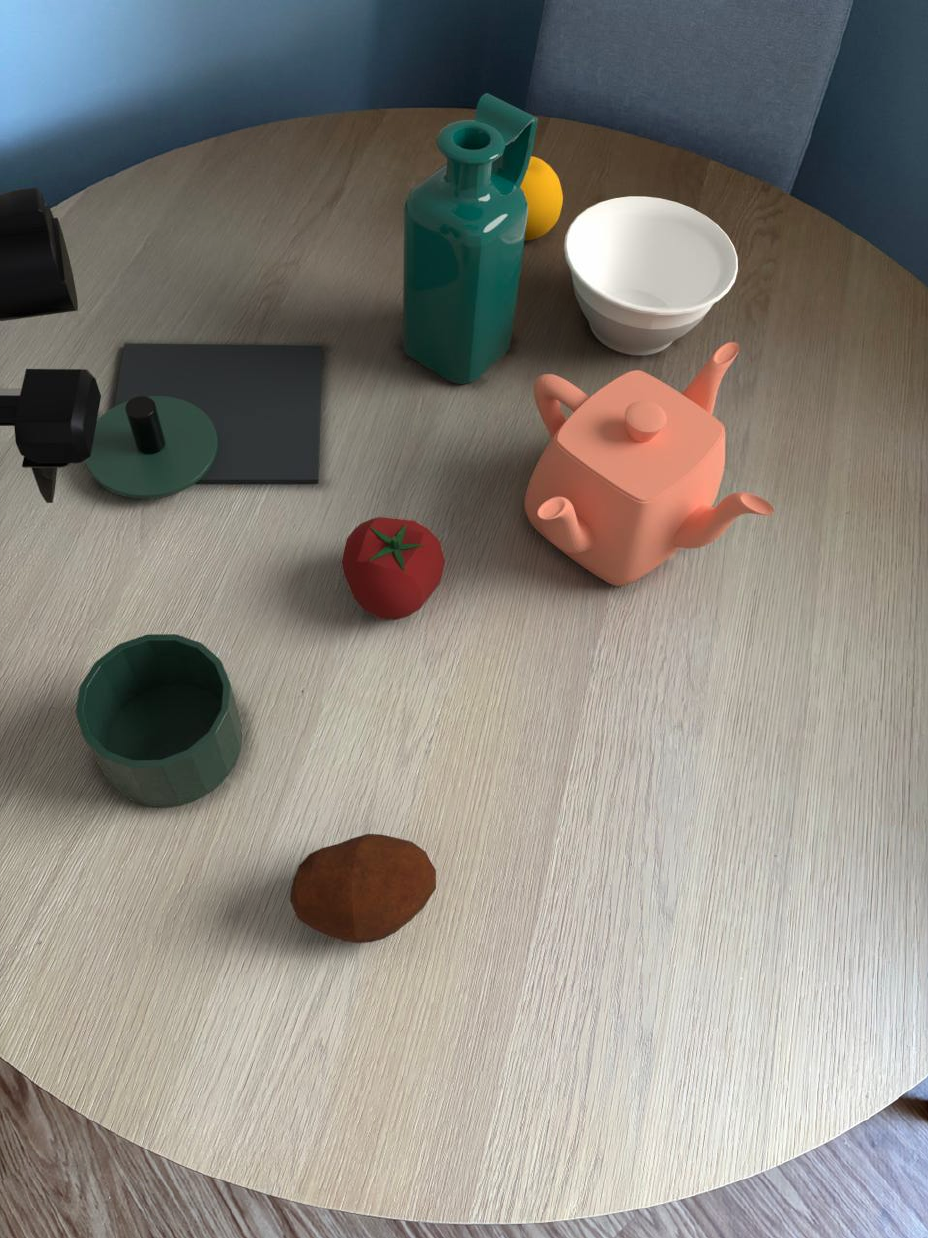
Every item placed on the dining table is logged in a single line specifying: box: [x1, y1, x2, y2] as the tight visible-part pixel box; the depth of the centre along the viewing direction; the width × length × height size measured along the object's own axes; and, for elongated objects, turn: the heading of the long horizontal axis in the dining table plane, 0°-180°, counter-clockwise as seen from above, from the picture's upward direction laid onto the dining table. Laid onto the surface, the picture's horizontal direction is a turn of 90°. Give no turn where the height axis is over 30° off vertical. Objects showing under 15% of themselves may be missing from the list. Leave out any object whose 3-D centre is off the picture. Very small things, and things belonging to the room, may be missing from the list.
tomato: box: [340, 516, 446, 621], centre depth 81 cm, size 8×8×7 cm
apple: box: [520, 155, 564, 241], centre depth 106 cm, size 8×8×8 cm
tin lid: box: [84, 396, 218, 500], centre depth 87 cm, size 11×11×6 cm
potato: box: [289, 833, 437, 944], centre depth 68 cm, size 7×9×6 cm
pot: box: [524, 341, 775, 587], centre depth 84 cm, size 18×17×12 cm
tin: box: [75, 633, 243, 808], centre depth 73 cm, size 10×10×7 cm
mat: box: [113, 342, 324, 485], centre depth 93 cm, size 18×16×1 cm
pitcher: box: [402, 92, 539, 385], centre depth 90 cm, size 10×8×22 cm
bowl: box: [563, 195, 739, 356], centre depth 99 cm, size 16×16×8 cm
